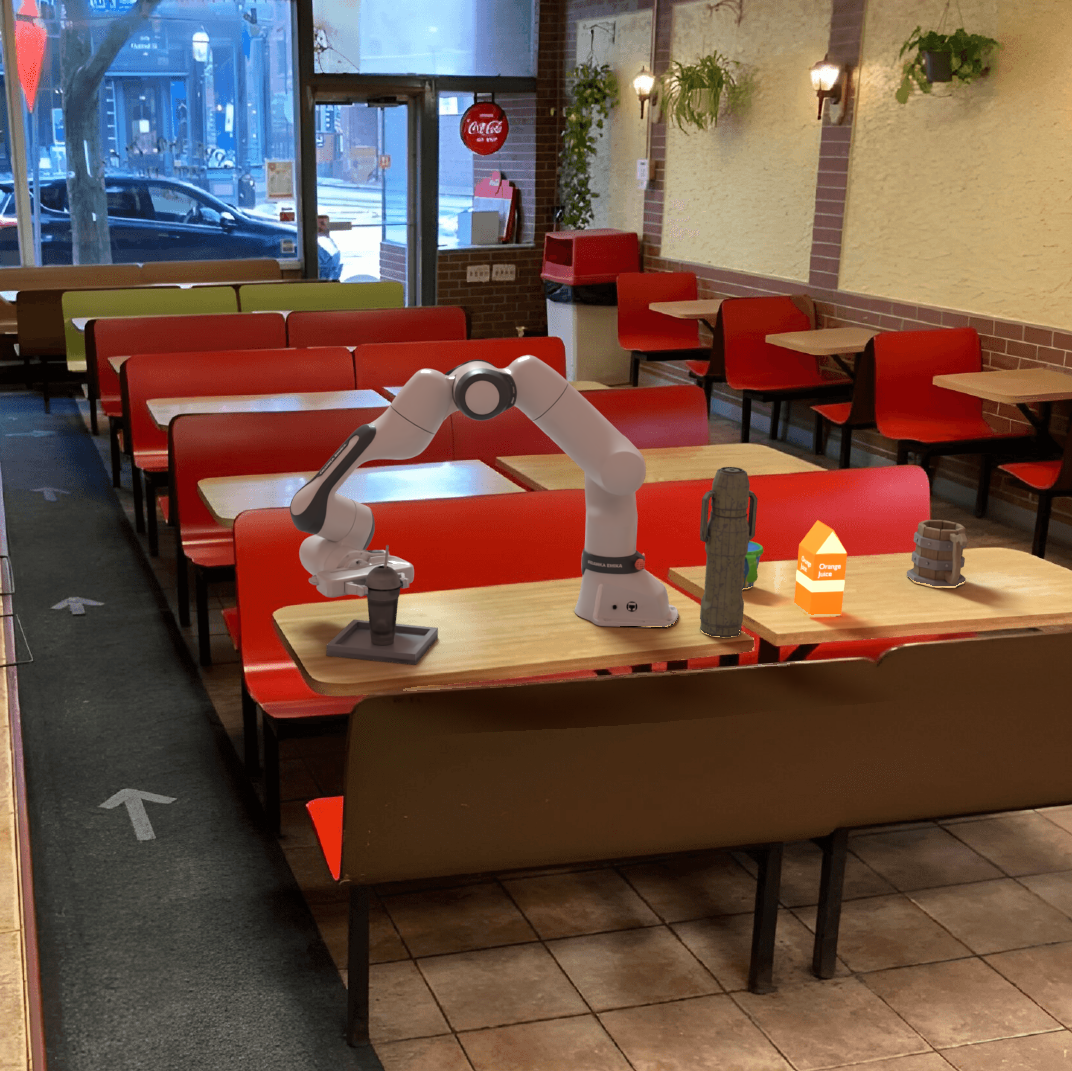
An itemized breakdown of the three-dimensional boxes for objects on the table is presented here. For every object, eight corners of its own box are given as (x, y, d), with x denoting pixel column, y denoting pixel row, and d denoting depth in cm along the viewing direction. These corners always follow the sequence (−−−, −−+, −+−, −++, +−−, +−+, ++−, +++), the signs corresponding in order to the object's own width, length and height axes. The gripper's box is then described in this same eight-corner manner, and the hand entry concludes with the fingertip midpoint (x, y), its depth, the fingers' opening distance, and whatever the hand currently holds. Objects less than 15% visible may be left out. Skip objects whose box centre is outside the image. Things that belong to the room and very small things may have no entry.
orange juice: (808, 618, 291) (816, 530, 286) (793, 605, 299) (800, 519, 294) (842, 617, 293) (850, 529, 287) (825, 604, 301) (833, 518, 296)
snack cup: (769, 596, 305) (773, 554, 303) (725, 597, 303) (729, 555, 301) (747, 576, 320) (750, 535, 317) (705, 577, 318) (708, 536, 315)
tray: (437, 637, 271) (437, 627, 271) (415, 665, 256) (415, 654, 256) (353, 629, 275) (353, 619, 274) (326, 655, 259) (326, 645, 259)
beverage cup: (382, 633, 270) (383, 538, 265) (408, 641, 266) (409, 544, 261) (356, 641, 264) (356, 544, 260) (382, 649, 260) (383, 550, 255)
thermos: (756, 635, 279) (768, 472, 270) (707, 641, 275) (718, 475, 265) (733, 621, 287) (745, 463, 278) (685, 627, 282) (696, 466, 273)
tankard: (901, 572, 327) (907, 513, 323) (951, 573, 328) (958, 514, 324) (929, 598, 308) (936, 535, 304) (982, 598, 309) (990, 536, 305)
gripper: (304, 563, 265) (339, 581, 254) (392, 548, 277) (428, 564, 267) (304, 593, 267) (339, 612, 256) (392, 577, 279) (428, 594, 268)
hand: (385, 588), depth 261 cm, fingers open, 8 cm apart
